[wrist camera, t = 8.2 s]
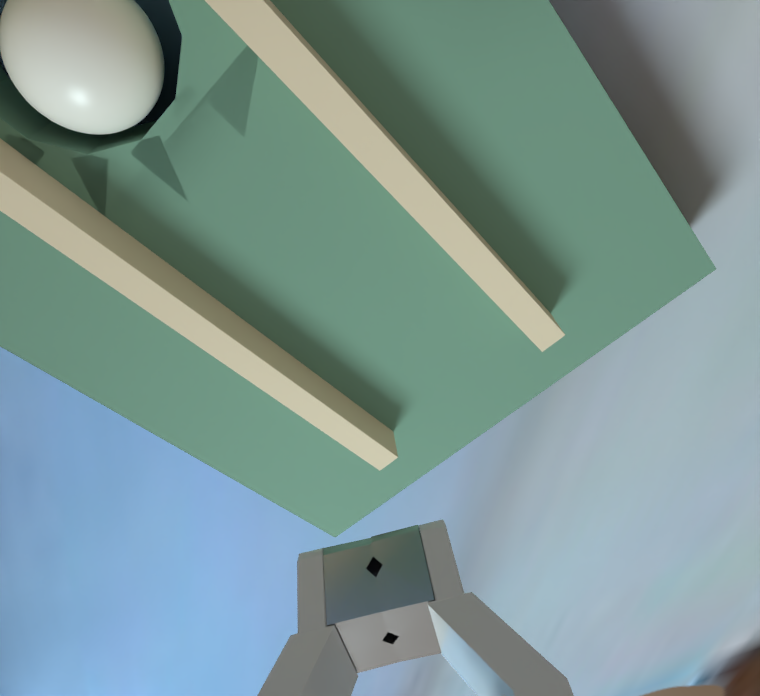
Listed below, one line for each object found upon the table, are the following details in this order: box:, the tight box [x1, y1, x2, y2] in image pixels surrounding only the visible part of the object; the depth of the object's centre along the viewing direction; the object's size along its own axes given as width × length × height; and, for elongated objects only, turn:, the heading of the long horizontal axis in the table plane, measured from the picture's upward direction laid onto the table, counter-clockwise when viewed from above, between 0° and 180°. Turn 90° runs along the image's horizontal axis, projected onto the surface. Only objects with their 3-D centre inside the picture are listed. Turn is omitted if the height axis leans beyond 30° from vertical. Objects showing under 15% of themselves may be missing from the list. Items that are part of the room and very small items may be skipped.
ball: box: [0, 0, 165, 134], centre depth 16 cm, size 4×4×4 cm
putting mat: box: [0, 0, 716, 537], centre depth 17 cm, size 28×20×6 cm
